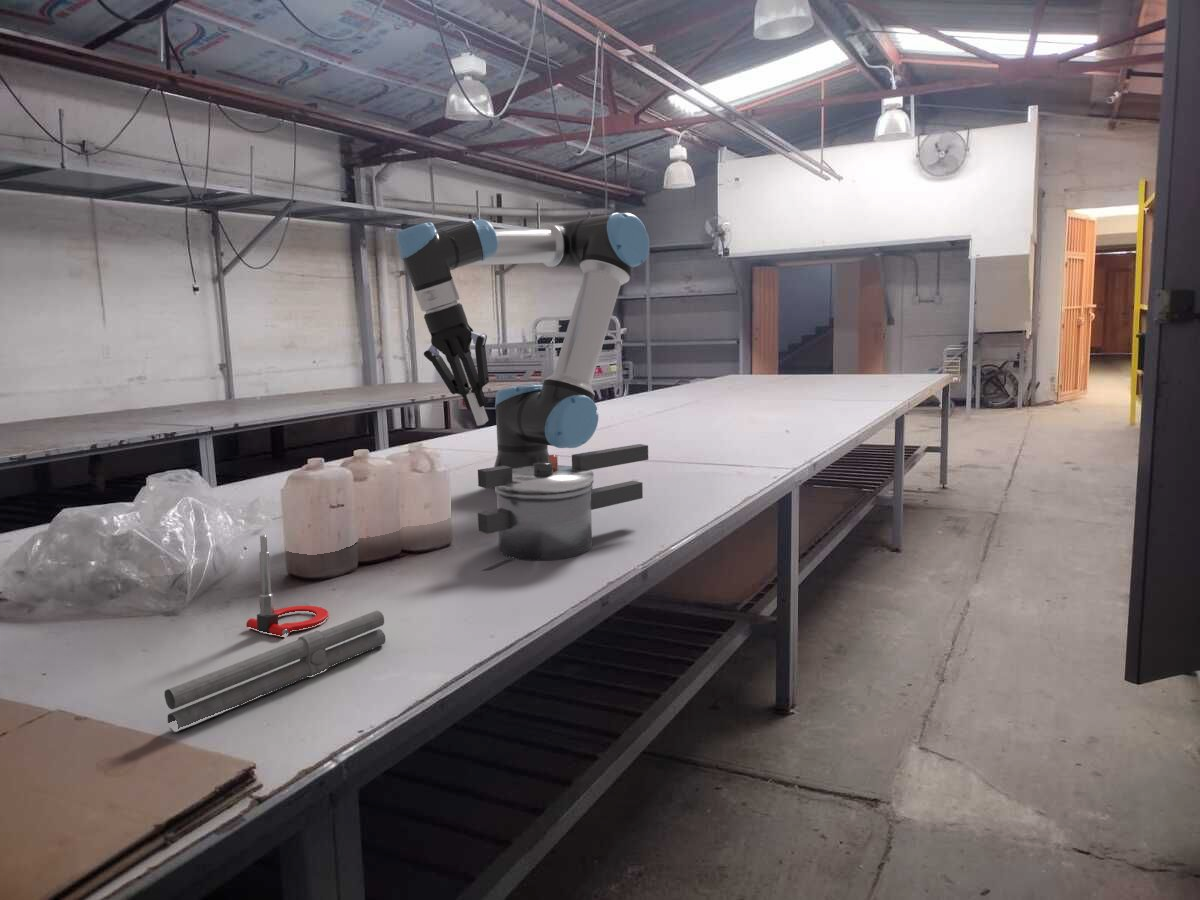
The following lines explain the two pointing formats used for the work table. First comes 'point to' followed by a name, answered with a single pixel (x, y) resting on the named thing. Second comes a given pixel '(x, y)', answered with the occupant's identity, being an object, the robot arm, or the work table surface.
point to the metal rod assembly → (304, 649)
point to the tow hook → (268, 615)
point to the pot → (551, 520)
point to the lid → (559, 471)
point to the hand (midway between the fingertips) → (482, 422)
